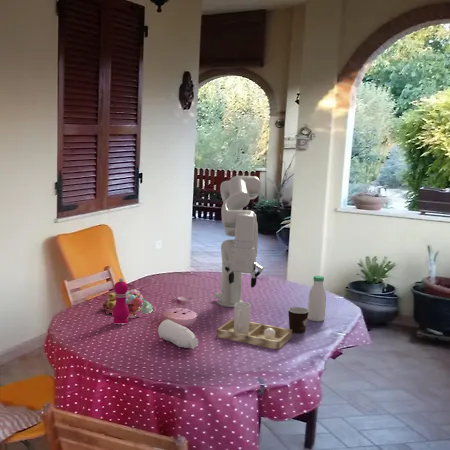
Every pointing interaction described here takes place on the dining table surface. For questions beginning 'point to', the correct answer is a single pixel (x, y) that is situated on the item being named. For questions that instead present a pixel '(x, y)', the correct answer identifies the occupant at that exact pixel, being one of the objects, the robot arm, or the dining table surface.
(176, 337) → the white plastic bottle
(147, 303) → the candy landscape model
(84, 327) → the dining table surface
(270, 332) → the stone egg
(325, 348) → the dining table surface
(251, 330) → the caddy
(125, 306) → the pepper mill
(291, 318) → the coffee mug
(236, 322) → the mug
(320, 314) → the milk bottle
